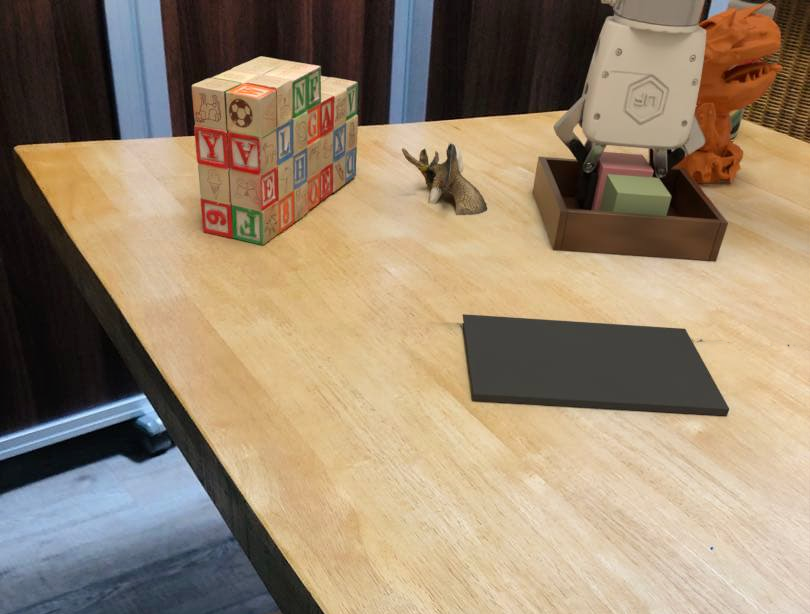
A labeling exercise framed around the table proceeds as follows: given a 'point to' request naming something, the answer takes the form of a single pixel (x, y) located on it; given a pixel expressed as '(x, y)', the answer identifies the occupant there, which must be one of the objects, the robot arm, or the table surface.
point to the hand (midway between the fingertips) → (612, 209)
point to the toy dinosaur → (730, 86)
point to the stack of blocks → (271, 145)
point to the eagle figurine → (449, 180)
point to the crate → (628, 218)
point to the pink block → (618, 170)
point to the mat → (587, 365)
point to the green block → (635, 195)
